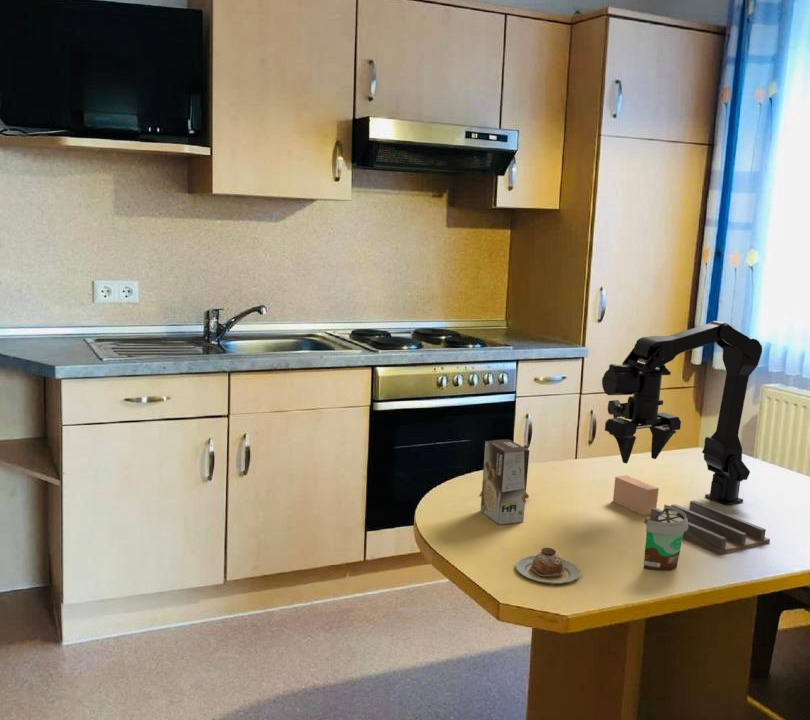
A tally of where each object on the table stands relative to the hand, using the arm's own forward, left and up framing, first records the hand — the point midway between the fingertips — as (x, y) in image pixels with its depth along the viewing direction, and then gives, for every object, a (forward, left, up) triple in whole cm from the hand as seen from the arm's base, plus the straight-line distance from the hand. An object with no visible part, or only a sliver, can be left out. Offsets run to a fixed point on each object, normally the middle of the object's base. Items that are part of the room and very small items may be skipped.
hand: (639, 460), depth 201 cm
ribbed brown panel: (-3, +18, -11) cm, 21 cm away
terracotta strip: (0, 0, -11) cm, 11 cm away
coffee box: (+33, -7, -11) cm, 36 cm away
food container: (+19, +27, -11) cm, 35 cm away
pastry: (+43, +20, -12) cm, 49 cm away
